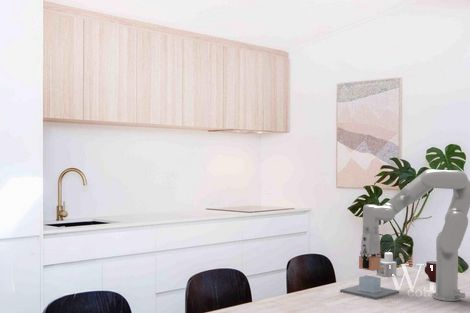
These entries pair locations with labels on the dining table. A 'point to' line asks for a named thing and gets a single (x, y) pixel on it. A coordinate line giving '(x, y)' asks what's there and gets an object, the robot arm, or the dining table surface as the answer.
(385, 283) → the dining table surface
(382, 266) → the container
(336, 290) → the dining table surface
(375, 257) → the terracotta brick
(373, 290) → the blue brick
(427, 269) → the mug
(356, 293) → the baseplate
